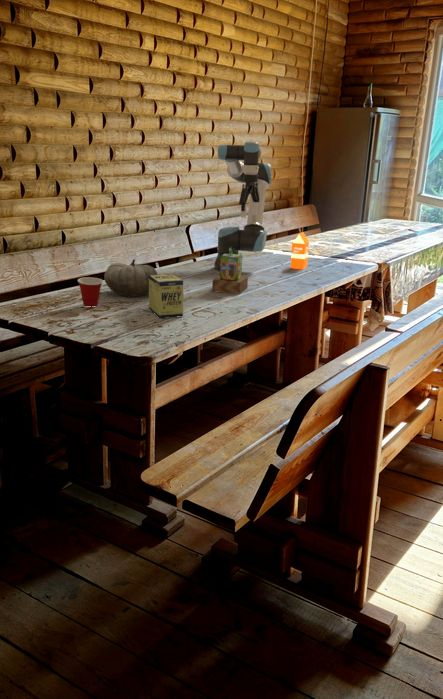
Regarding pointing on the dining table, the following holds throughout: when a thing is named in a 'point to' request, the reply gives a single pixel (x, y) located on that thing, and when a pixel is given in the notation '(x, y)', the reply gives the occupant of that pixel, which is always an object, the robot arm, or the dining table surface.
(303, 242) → the orange juice
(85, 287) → the plastic cup
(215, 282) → the walnut block
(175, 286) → the protein box
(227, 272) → the chalk box
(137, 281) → the gourd
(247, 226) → the robot arm
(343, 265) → the dining table surface
